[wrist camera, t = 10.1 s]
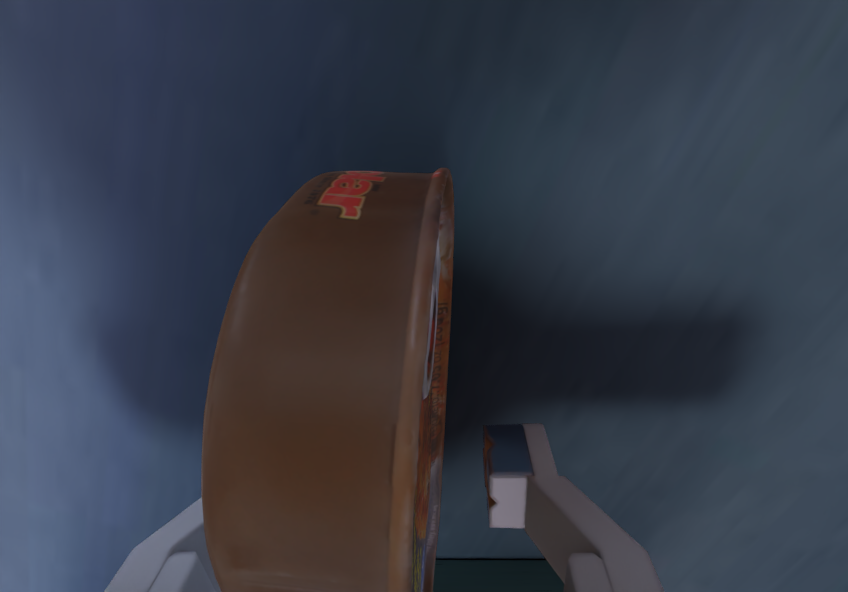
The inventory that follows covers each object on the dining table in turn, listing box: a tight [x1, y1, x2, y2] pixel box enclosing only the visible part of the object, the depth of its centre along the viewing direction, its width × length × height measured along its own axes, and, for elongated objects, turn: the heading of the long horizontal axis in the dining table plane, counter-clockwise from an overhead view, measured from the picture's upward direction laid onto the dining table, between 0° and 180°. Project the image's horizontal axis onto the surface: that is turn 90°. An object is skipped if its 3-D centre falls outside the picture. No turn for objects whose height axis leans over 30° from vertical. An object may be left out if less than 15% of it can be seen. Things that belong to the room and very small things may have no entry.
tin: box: [201, 168, 454, 592], centre depth 10 cm, size 15×3×8 cm, turn 179°
